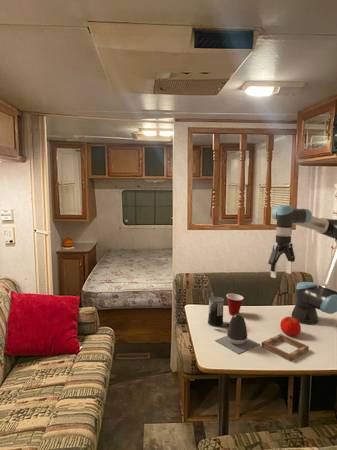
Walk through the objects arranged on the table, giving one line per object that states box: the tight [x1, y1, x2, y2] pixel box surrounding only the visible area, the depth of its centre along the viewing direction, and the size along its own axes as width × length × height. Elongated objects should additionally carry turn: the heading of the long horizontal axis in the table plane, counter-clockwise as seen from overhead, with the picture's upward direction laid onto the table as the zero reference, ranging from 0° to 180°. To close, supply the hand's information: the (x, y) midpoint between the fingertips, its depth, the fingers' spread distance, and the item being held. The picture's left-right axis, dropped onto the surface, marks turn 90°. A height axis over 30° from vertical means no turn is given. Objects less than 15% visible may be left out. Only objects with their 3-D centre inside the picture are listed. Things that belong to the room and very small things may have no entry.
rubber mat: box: [214, 335, 260, 355], centre depth 163 cm, size 16×16×1 cm
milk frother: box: [207, 296, 229, 327], centre depth 183 cm, size 14×16×15 cm
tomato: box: [279, 316, 302, 337], centre depth 174 cm, size 11×11×9 cm
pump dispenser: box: [226, 313, 248, 345], centre depth 162 cm, size 10×10×15 cm
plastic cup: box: [226, 293, 244, 317], centre depth 199 cm, size 11×11×12 cm
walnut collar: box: [261, 333, 310, 362], centre depth 158 cm, size 16×16×2 cm
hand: (281, 275), depth 165 cm, fingers open, 13 cm apart
